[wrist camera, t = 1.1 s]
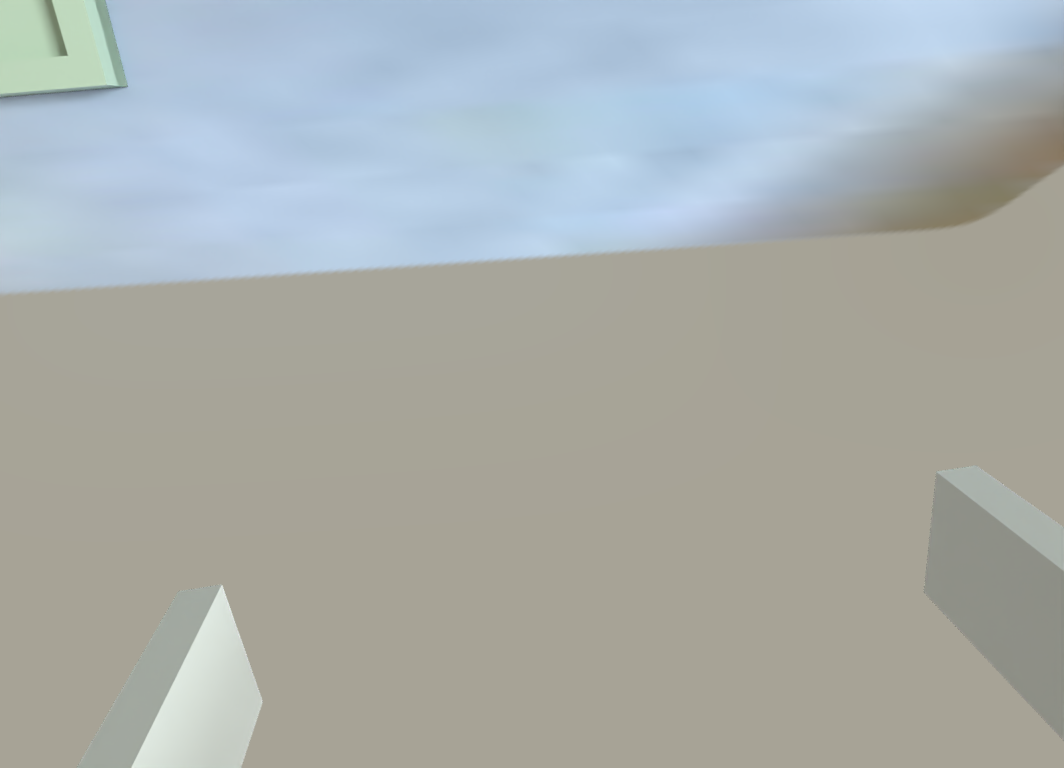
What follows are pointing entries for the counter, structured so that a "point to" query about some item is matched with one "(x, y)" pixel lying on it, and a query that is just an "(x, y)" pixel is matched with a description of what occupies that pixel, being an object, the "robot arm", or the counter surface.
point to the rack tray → (57, 47)
